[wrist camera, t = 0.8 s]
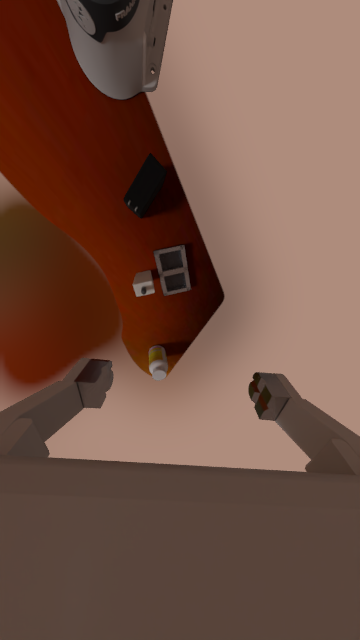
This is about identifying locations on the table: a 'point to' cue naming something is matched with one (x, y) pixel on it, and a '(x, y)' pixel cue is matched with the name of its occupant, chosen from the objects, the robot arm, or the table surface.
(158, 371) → the supplement bottle
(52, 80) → the table surface
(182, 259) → the socket box
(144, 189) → the electronic device
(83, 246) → the table surface
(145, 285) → the plug
